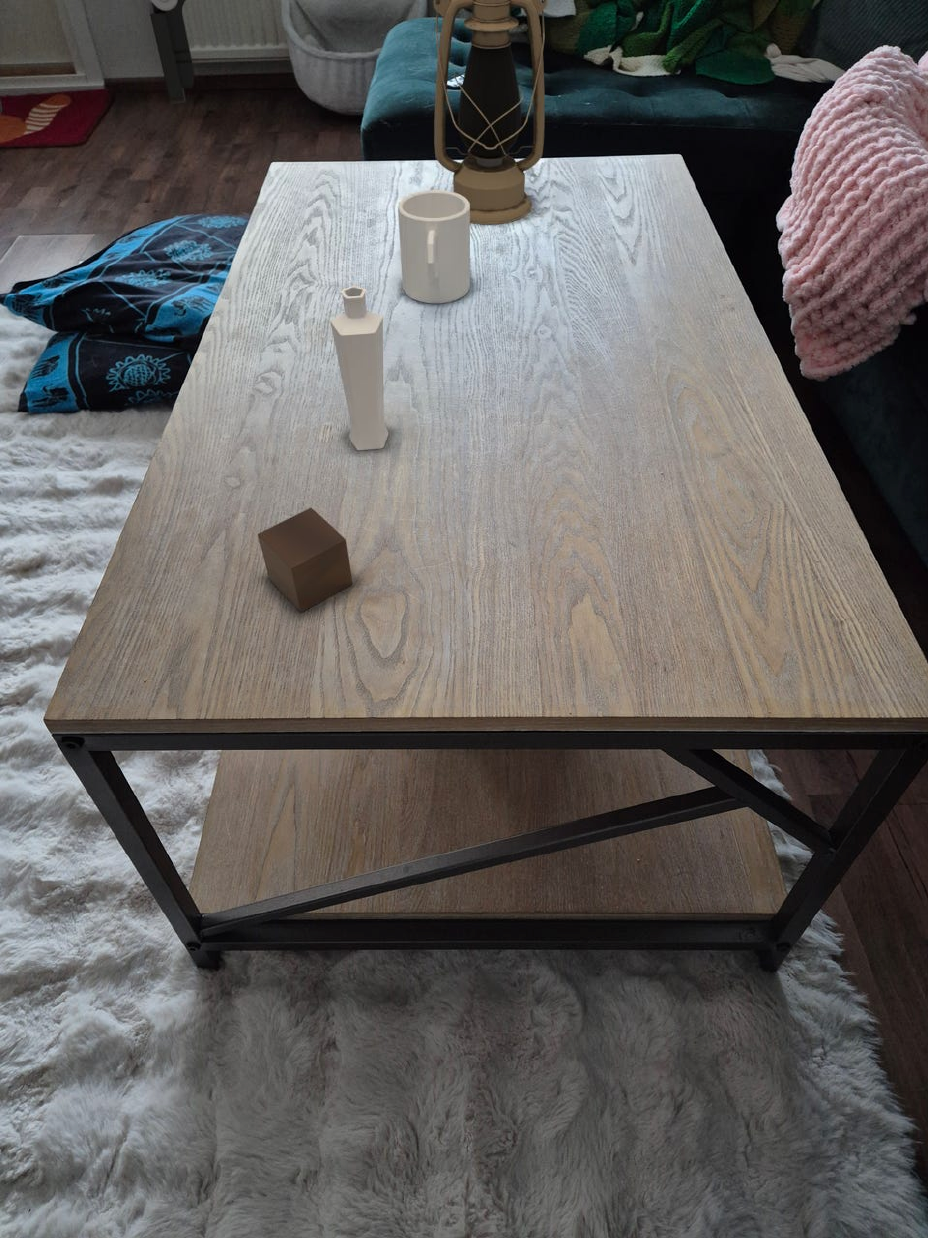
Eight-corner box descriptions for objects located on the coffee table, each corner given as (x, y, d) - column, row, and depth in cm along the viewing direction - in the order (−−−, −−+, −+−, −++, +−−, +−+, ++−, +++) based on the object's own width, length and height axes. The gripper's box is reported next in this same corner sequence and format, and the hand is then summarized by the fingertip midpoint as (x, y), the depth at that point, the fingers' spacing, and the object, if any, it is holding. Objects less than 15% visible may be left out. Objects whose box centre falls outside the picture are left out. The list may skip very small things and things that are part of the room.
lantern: (436, 225, 115) (429, -55, 92) (435, 189, 123) (427, -76, 100) (544, 222, 115) (562, -57, 93) (536, 187, 123) (550, -78, 101)
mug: (397, 320, 98) (391, 234, 91) (406, 271, 106) (401, 188, 99) (467, 321, 98) (467, 235, 90) (470, 272, 106) (470, 189, 98)
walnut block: (300, 613, 68) (291, 568, 64) (268, 578, 70) (257, 533, 66) (352, 584, 70) (346, 539, 66) (319, 551, 72) (311, 506, 69)
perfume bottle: (400, 445, 82) (390, 297, 71) (358, 457, 81) (340, 309, 70) (383, 420, 85) (370, 274, 74) (341, 431, 84) (322, 285, 73)
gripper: (142, -418, 32) (230, 71, 44) (-273, -423, 30) (-61, 95, 42) (144, -434, 28) (243, 119, 40) (-352, -441, 25) (-86, 150, 37)
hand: (86, 106), depth 41 cm, fingers open, 8 cm apart
